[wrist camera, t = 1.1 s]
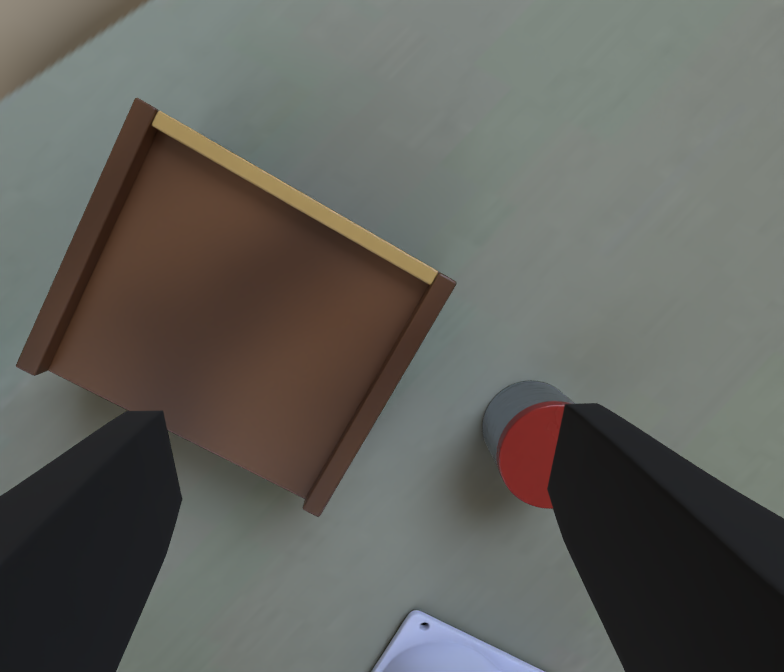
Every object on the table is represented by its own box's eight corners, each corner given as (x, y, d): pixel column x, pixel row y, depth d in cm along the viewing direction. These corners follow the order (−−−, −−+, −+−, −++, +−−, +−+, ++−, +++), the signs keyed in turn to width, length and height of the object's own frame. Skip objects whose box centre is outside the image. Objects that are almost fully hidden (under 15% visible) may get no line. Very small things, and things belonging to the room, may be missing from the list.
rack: (439, 272, 24) (457, 282, 19) (332, 457, 26) (318, 518, 20) (196, 132, 23) (134, 96, 17) (99, 337, 25) (14, 366, 19)
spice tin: (593, 407, 26) (631, 437, 22) (542, 484, 27) (570, 526, 23) (513, 362, 25) (537, 385, 21) (463, 442, 26) (478, 478, 22)
